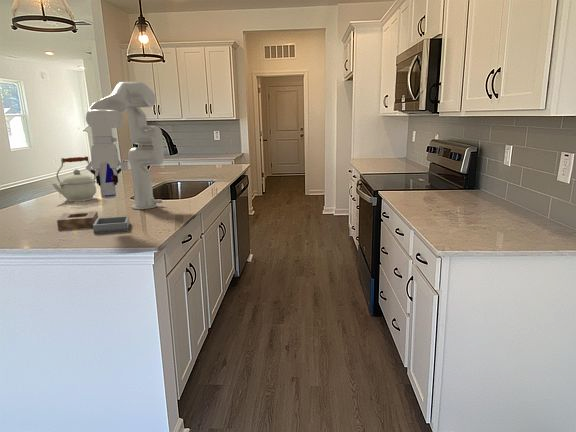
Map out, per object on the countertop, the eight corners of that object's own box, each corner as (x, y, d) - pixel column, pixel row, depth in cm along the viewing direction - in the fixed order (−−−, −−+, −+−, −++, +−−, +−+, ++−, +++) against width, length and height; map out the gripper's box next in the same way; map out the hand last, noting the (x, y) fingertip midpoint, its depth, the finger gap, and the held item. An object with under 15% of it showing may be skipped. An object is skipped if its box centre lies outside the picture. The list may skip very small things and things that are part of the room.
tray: (129, 223, 180) (128, 215, 179) (127, 230, 168) (127, 222, 167) (98, 225, 176) (97, 218, 175) (93, 233, 164) (92, 225, 163)
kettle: (91, 195, 251) (86, 155, 245) (105, 198, 239) (101, 156, 233) (48, 201, 232) (41, 158, 226) (61, 205, 220) (55, 159, 215)
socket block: (98, 219, 188) (97, 211, 187) (94, 226, 175) (93, 217, 174) (64, 221, 184) (63, 213, 183) (58, 229, 171) (56, 220, 170)
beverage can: (110, 199, 166) (106, 162, 162) (98, 198, 167) (94, 162, 163) (119, 196, 171) (115, 161, 168) (107, 196, 172) (103, 161, 169)
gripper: (126, 140, 170) (130, 182, 174) (81, 141, 164) (86, 184, 169) (124, 141, 163) (129, 185, 167) (78, 142, 157) (83, 187, 162)
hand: (107, 184), depth 168 cm, fingers closed on beverage can, 5 cm apart
